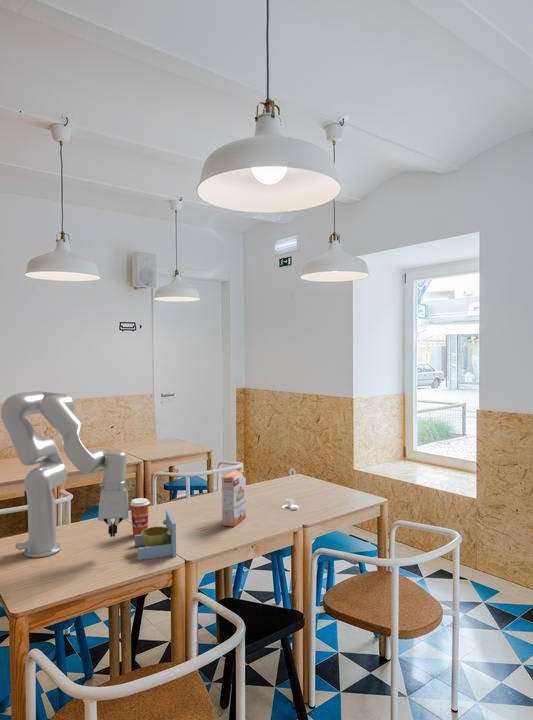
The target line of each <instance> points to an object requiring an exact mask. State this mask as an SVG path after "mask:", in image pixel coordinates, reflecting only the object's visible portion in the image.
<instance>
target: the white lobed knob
mask: <svg viewBox="0 0 533 720" xmlns="http://www.w3.org/2000/svg"><path fill="white" fill-rule="evenodd" d="M286 507H287V508H286ZM281 509H284V510H288V511H290V510H298V509H299V506H298V505H297V504H294V499H293V498H286V504H284V505H282V506H281Z"/></svg>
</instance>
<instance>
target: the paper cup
mask: <svg viewBox="0 0 533 720" xmlns="http://www.w3.org/2000/svg"><path fill="white" fill-rule="evenodd" d="M149 504H151V502H150V500H149V499H148V498H144V497H140V498H134V499H131V502H130V503H129V505H130V511H131V512H130V514H131V525H132V526H131V527H132V535H133V537H134V538H135V535H141V534H142V531H143V530H145V529H147V528H149Z"/></svg>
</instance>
